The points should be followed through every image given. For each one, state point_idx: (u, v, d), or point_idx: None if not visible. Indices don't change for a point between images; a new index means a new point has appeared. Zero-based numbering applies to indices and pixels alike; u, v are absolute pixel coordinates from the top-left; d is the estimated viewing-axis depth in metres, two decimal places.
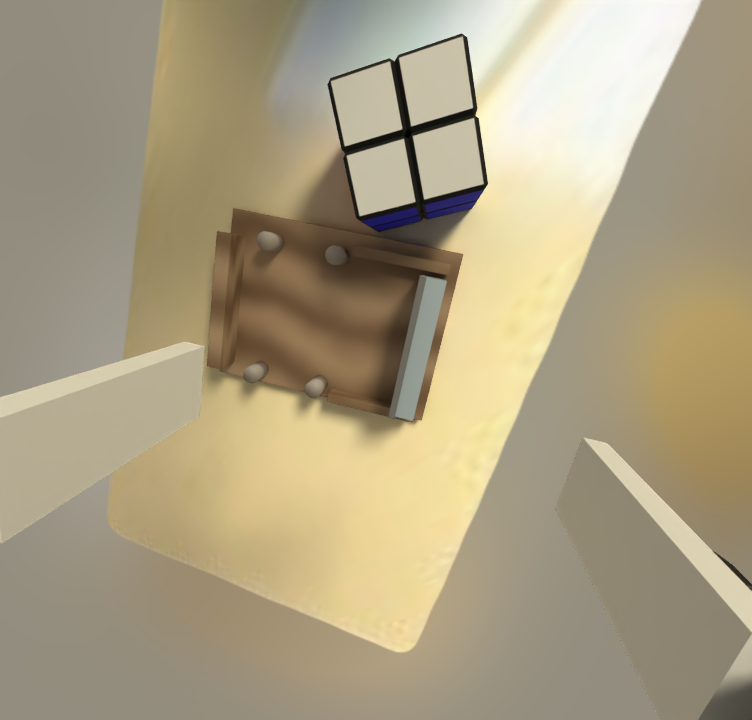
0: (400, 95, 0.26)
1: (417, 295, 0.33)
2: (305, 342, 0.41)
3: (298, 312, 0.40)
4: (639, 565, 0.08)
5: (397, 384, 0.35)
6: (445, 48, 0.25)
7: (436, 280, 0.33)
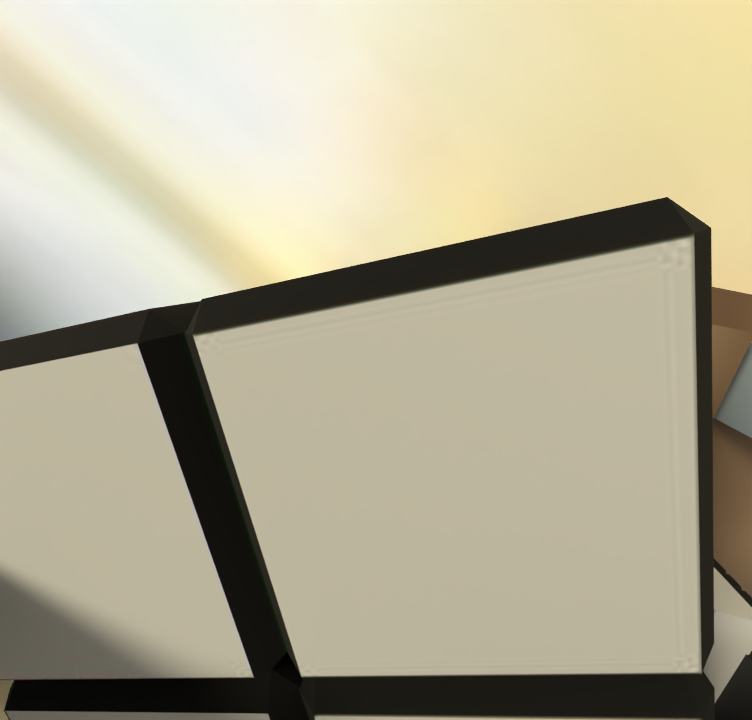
0: (128, 683, 0.05)
1: None
2: None
3: None
4: None
5: None
6: None
7: None
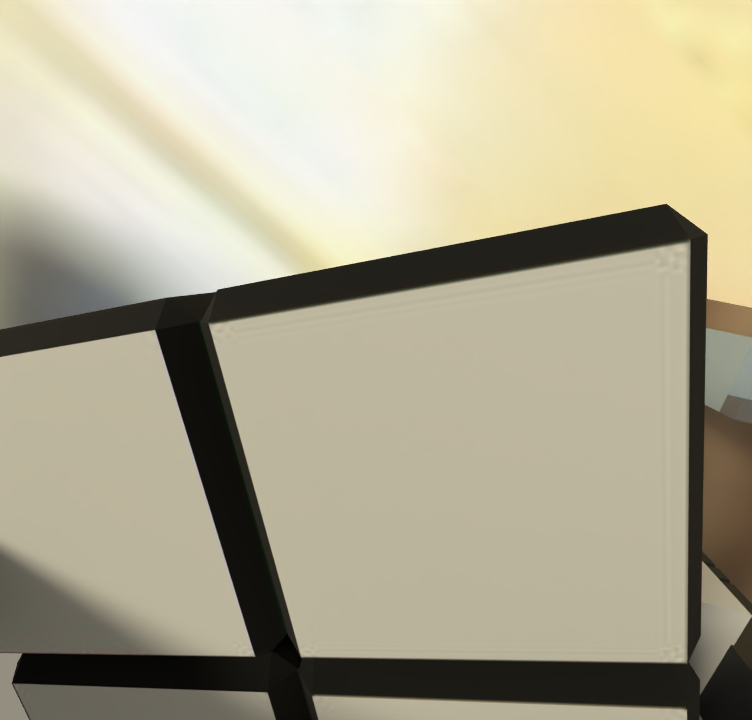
0: (132, 660, 0.05)
1: None
2: None
3: None
4: None
5: None
6: None
7: (743, 368, 0.11)
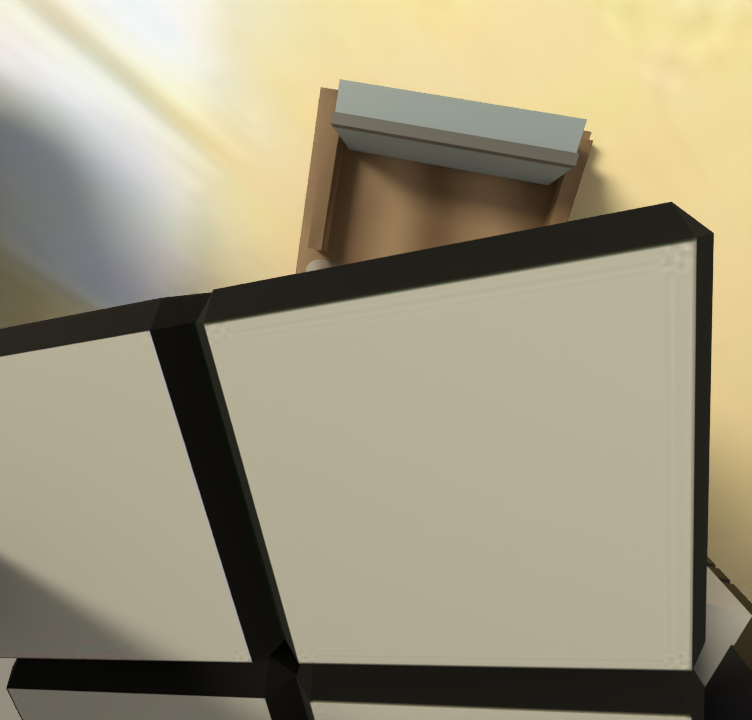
0: (128, 665, 0.05)
1: (359, 124, 0.21)
2: None
3: None
4: None
5: (510, 150, 0.20)
6: None
7: (339, 98, 0.21)
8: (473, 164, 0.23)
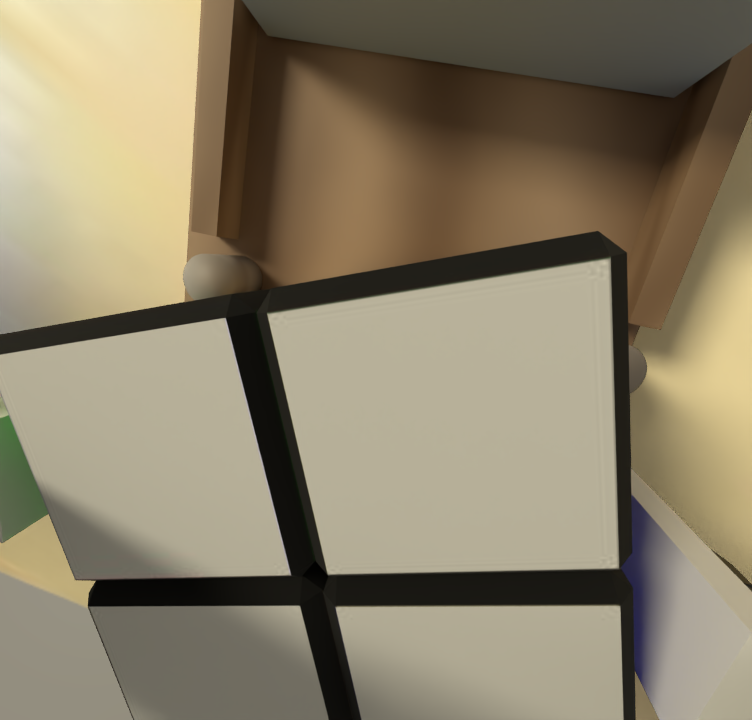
0: (189, 585, 0.07)
1: None
2: None
3: None
4: (638, 565, 0.08)
5: None
6: (30, 423, 0.06)
7: None
8: (523, 41, 0.11)
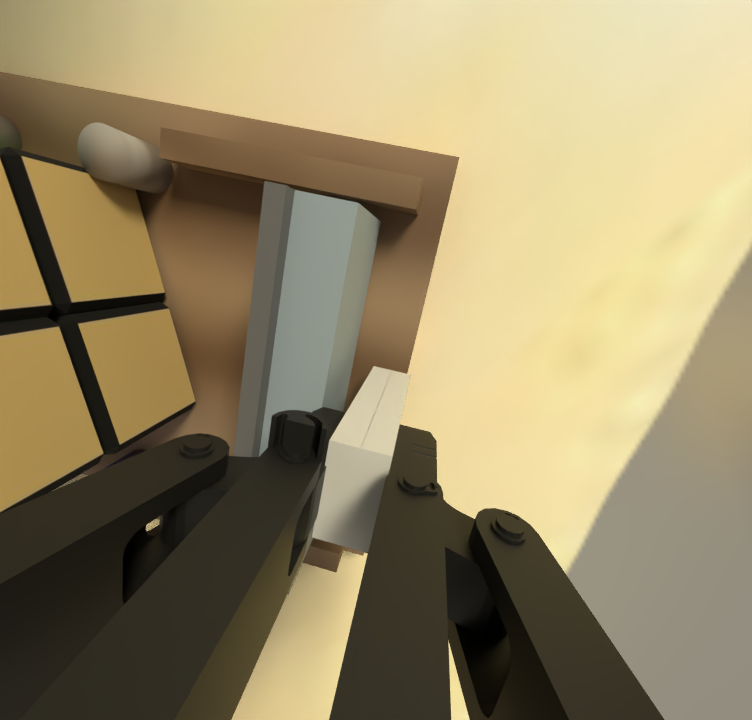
0: None
1: (262, 248, 0.10)
2: None
3: None
4: None
5: None
6: None
7: (325, 200, 0.10)
8: None
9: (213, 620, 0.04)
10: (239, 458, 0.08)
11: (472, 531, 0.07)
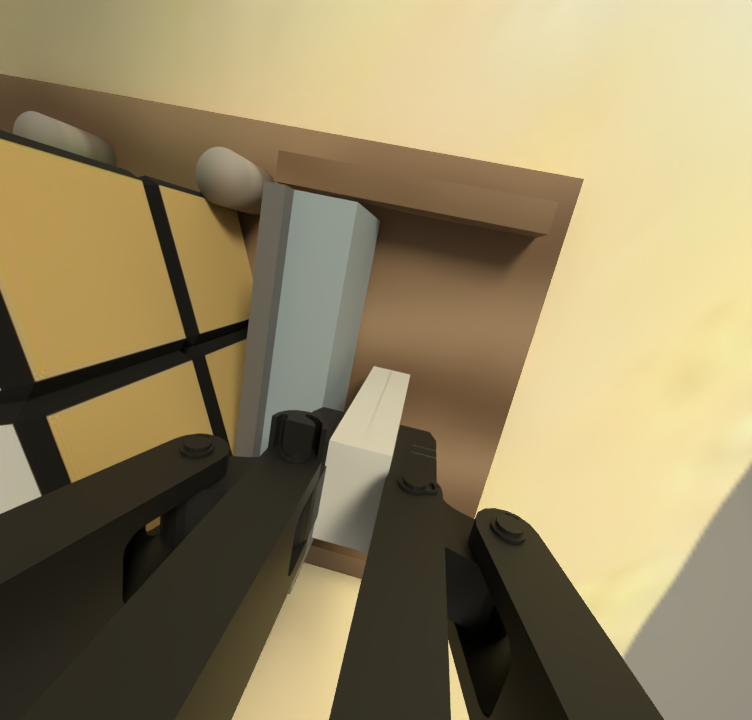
0: None
1: (262, 247, 0.10)
2: None
3: None
4: None
5: None
6: None
7: (325, 199, 0.10)
8: None
9: (213, 620, 0.04)
10: (239, 458, 0.08)
11: (472, 531, 0.07)
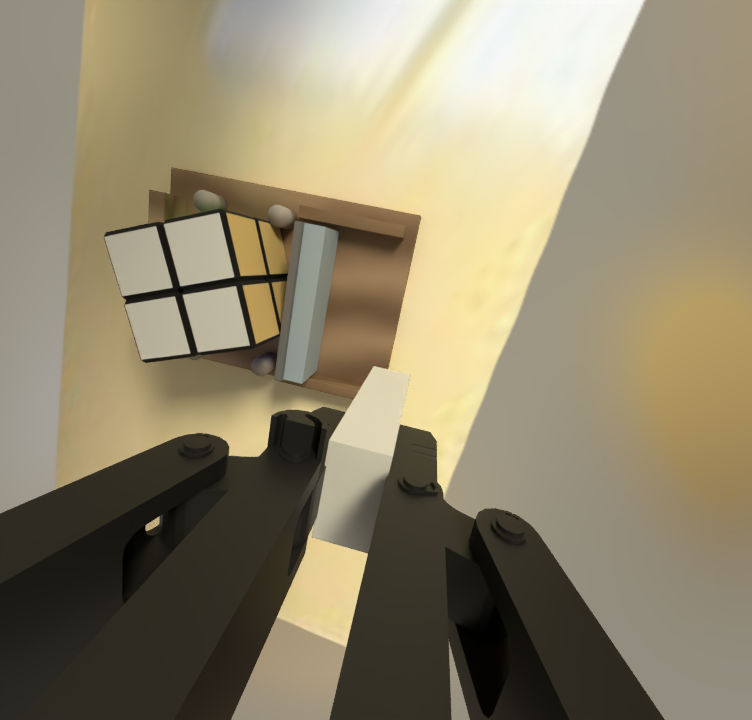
0: (169, 256, 0.27)
1: (294, 242, 0.30)
2: None
3: None
4: None
5: (280, 342, 0.32)
6: (204, 221, 0.26)
7: (315, 226, 0.30)
8: None
9: (212, 619, 0.04)
10: (239, 458, 0.08)
11: (473, 531, 0.07)
